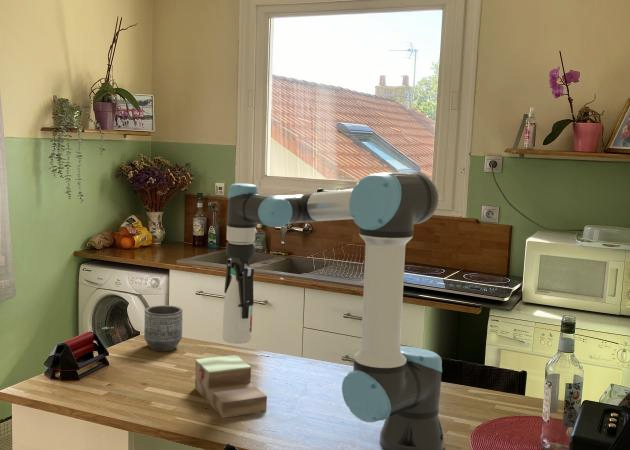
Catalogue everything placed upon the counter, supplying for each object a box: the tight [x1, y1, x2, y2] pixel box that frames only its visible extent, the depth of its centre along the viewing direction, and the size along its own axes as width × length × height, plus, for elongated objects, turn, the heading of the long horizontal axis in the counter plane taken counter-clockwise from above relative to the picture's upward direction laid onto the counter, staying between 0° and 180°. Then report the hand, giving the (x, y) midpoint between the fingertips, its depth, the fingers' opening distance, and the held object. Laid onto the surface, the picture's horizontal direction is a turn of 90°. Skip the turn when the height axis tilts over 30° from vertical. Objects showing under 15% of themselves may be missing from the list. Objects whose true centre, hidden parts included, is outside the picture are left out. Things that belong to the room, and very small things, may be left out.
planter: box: [143, 304, 183, 352], centre depth 232 cm, size 12×12×13 cm
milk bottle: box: [222, 267, 254, 345], centre depth 190 cm, size 8×8×20 cm
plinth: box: [194, 354, 268, 419], centre depth 190 cm, size 22×13×8 cm, turn 28°
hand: (237, 325), depth 190 cm, fingers closed on milk bottle, 8 cm apart
